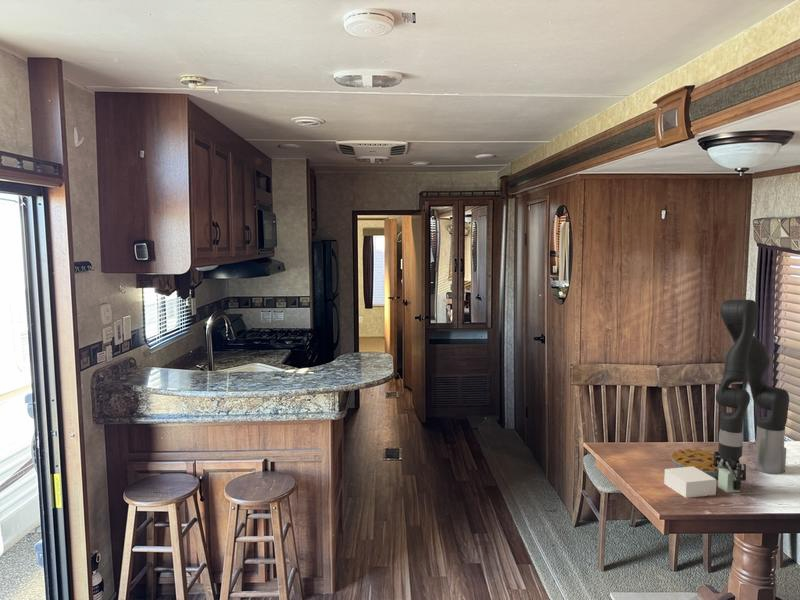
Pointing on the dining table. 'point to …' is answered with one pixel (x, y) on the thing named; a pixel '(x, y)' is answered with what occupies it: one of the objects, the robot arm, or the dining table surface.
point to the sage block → (726, 480)
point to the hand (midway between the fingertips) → (728, 485)
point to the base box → (690, 482)
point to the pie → (695, 460)
